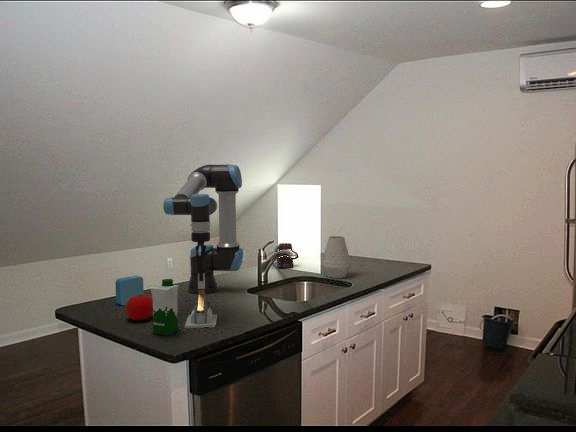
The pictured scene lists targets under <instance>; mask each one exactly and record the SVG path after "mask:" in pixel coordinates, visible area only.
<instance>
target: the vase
mask: <svg viewBox="0 0 576 432" xmlns="http://www.w3.org/2000/svg"><path fill="white" fill-rule="evenodd" d="M351 262H352V261H351V258H350V254H349V250H348V247H347V243H346V240H345V236H341V235H339V236H338V235H337V236H335V235H334V236H332V235H331V236H329V237H328V239H327V244H326V248H325V249H324V253H323V257H322V260H321V265H320V266H321V268H322V270H323V272H324V274H325V275H326V277H327V276H328V277H327V278H329V277H332V278H331V279H344V278H346V277H347V275H348V273H349V271H350V270H351V268H352V263H351ZM343 277H344V278H343Z"/></svg>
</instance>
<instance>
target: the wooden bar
mask: <svg viewBox="0 0 576 432" xmlns="http://www.w3.org/2000/svg"><path fill="white" fill-rule="evenodd" d="M205 296H206V294H205V290H199V294H198V298H197V299H198V300H197V309H198V310H197V313H204V306H205V298H206V297H205Z"/></svg>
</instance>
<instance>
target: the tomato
mask: <svg viewBox="0 0 576 432" xmlns="http://www.w3.org/2000/svg"><path fill="white" fill-rule="evenodd" d="M125 312H126V314H127V316H128V318H129V319H131V320H133V321H144V320H147V319H149V318H150V317H151V316H153V297H152V296H151V295H150V296H149V295H148V294H144V295H140V294H139V295H136V296H133V297H131V298H130V299H129V300H128V301H127V305H125Z"/></svg>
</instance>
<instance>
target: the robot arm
mask: <svg viewBox="0 0 576 432" xmlns="http://www.w3.org/2000/svg"><path fill="white" fill-rule="evenodd" d="M242 186H243V178H242V172H241V170H240V167H239V165H236V164H205V165H202V166H199V167H198V168H196V169H194V170H193V171H192V172H191V173H190V174H189V175H188V177H187V180H186V182H185V183H184V184H183V186H182V187H181V188H180V189H179V191H178V192H177V193H176V194H175V196H173V197H172V196H171V197H165V198H164V200H163V204H162V205H163V206H162V207H163V212H164V213H165V215H169V216H190V217H191V218H190V219H191V220H190V222H191V223H190V224H189V227H191V229H190V230H191V234H190V235H191V242H192V243H197V245H196V246H194V247H193V248H191V249H190V254H189V255H190V256H189V259H190V261H189V262H190V276H189V281H188V284H187V292H188V293H190V294H197V295H199V290H205V295H206V294H211V293H215V292H217V291H218V284H217V282H216V278H215V276H214V272H217V271H218V272H237V271H239V270H240V269H241V266H242V263H243V257H244V252H243V251H244V250H243V248H242V247H240V244H239V242H238V241H237V207H236V206H237V201H236V200H237V199H236V198H237V197H236V195H237V194H238V193H239V189H241V188H242ZM207 188H208V189H209V188H211V189H213V188H214V189H215V193H216V194H218V203H217V200H215V198H213V197H210V194H208V193H200V192H201V191H203V190H204V189H207ZM217 210H218V231H219V232H218V235H219V241H218V243H217V244H216V247H214V245H213V244H205V243H207V242H210V241H211V233H210V230H211V221H210V220H211V217H210V216H211V215H213V214H214V213H215V212H216V211H217Z"/></svg>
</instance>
